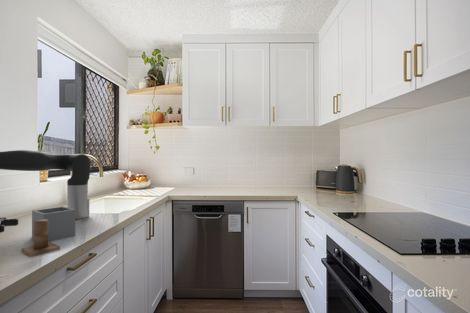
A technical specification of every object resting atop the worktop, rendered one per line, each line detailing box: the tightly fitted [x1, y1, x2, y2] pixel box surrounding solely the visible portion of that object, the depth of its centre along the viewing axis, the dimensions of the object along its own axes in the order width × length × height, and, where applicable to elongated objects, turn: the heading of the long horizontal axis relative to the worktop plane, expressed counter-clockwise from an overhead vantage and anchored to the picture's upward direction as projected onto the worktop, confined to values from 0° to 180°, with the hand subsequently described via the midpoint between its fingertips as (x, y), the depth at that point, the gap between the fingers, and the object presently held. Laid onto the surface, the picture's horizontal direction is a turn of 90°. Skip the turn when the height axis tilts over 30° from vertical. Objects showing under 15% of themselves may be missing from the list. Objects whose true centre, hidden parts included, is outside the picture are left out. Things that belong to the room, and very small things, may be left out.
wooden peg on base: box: [21, 219, 61, 258], centre depth 89 cm, size 8×8×10 cm
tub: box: [31, 206, 76, 242], centre depth 104 cm, size 11×11×10 cm
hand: (11, 225), depth 86 cm, fingers open, 8 cm apart
